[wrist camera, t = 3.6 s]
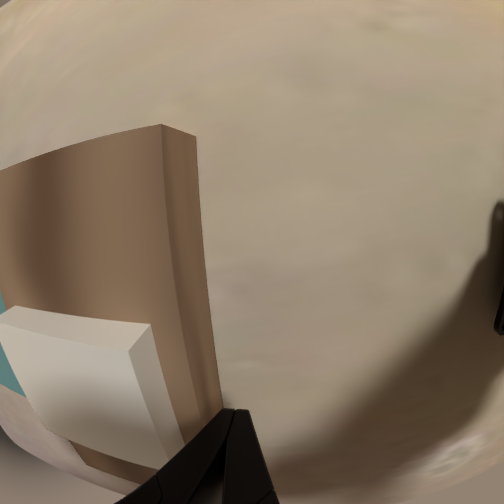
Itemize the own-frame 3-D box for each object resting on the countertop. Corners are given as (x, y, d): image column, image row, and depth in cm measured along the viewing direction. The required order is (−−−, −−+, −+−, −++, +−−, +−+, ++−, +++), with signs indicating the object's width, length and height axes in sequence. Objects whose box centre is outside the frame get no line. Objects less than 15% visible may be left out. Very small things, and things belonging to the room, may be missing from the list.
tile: (150, 324, 8) (127, 351, 7) (185, 446, 10) (175, 473, 8) (14, 305, 9) (-8, 320, 7) (60, 411, 10) (45, 429, 9)
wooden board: (196, 136, 9) (161, 124, 7) (233, 461, 14) (224, 500, 11) (27, 172, 10) (-18, 178, 8) (105, 435, 15) (86, 464, 12)
